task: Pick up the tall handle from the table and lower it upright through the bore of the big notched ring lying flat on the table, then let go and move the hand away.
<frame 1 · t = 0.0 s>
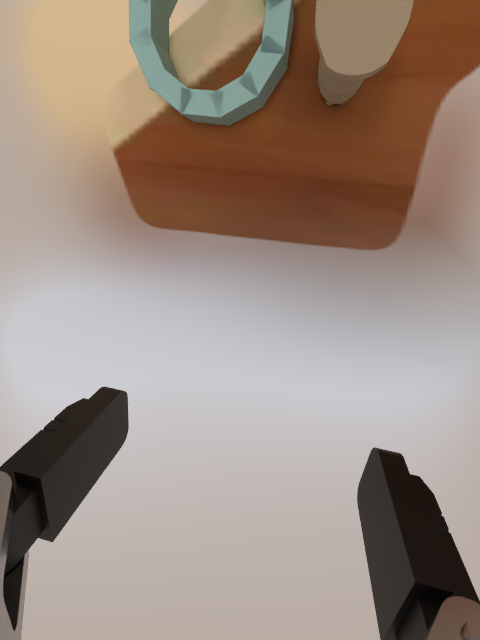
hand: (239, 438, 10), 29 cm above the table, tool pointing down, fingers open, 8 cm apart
handle: (336, 88, 30), on the table
notched ring: (217, 39, 30), on the table
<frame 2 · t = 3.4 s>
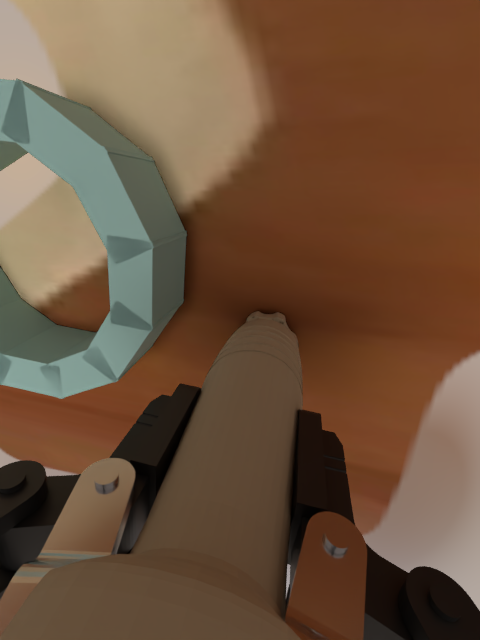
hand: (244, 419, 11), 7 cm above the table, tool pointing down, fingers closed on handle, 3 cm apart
handle: (267, 333, 18), on the table, touching gripper
notched ring: (67, 249, 18), on the table
when the fingers open (9 cm above the table, at t = 9.5 s): handle moves 1 cm, resting in notched ring.
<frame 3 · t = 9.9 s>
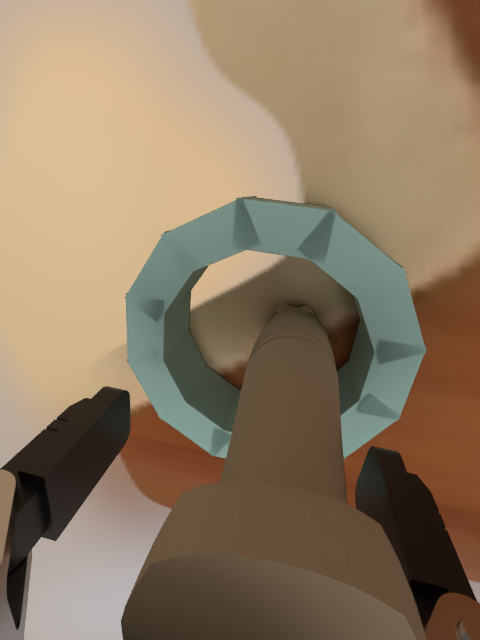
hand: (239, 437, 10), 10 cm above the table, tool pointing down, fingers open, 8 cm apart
handle: (294, 325, 19), resting in notched ring, touching gripper
notched ring: (269, 325, 19), on the table
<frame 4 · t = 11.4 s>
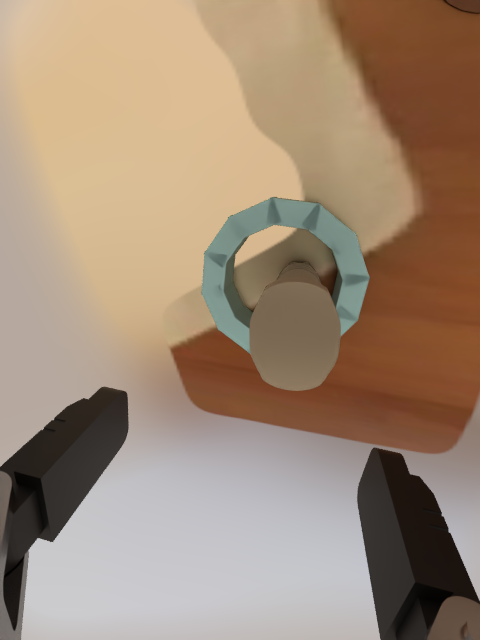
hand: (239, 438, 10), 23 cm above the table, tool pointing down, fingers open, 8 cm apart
handle: (298, 275, 31), resting in notched ring
notched ring: (283, 275, 31), on the table
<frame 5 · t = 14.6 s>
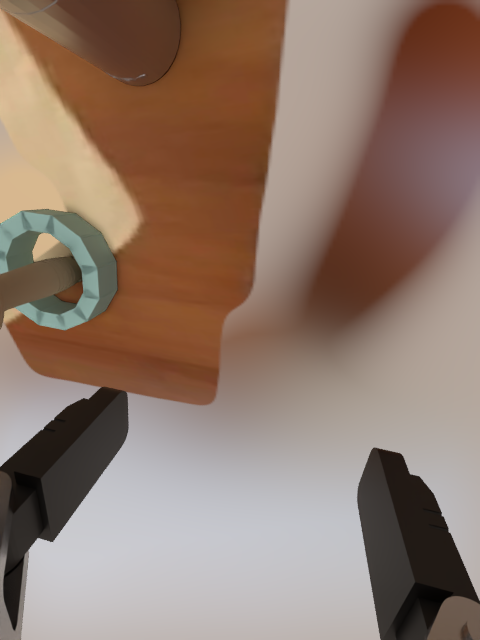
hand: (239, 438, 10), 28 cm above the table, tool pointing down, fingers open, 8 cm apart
handle: (78, 267, 41), resting in notched ring
notched ring: (67, 267, 41), on the table
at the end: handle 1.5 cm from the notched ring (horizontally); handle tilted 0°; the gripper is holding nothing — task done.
